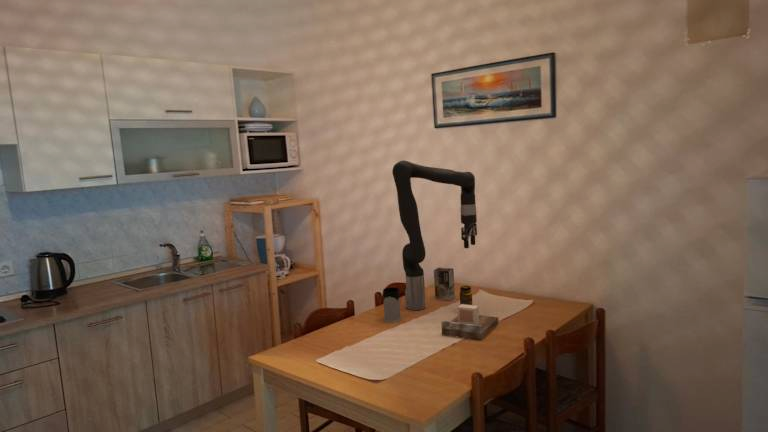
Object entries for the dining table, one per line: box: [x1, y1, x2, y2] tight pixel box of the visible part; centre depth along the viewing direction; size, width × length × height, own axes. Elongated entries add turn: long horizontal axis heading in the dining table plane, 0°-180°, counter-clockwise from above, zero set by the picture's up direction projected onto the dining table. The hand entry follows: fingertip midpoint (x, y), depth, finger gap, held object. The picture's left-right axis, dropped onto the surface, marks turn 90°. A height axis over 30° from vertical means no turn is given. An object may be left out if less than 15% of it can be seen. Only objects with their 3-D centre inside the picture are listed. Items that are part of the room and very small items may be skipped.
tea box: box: [457, 304, 480, 325], centre depth 230 cm, size 5×8×8 cm, turn 59°
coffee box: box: [433, 267, 456, 301], centre depth 280 cm, size 9×6×16 cm
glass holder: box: [382, 287, 403, 324], centre depth 253 cm, size 9×14×15 cm, turn 166°
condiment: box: [459, 285, 473, 306], centre depth 257 cm, size 7×8×12 cm
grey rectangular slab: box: [441, 314, 499, 341], centre depth 232 cm, size 18×22×6 cm
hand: (469, 246), depth 254 cm, fingers open, 8 cm apart
